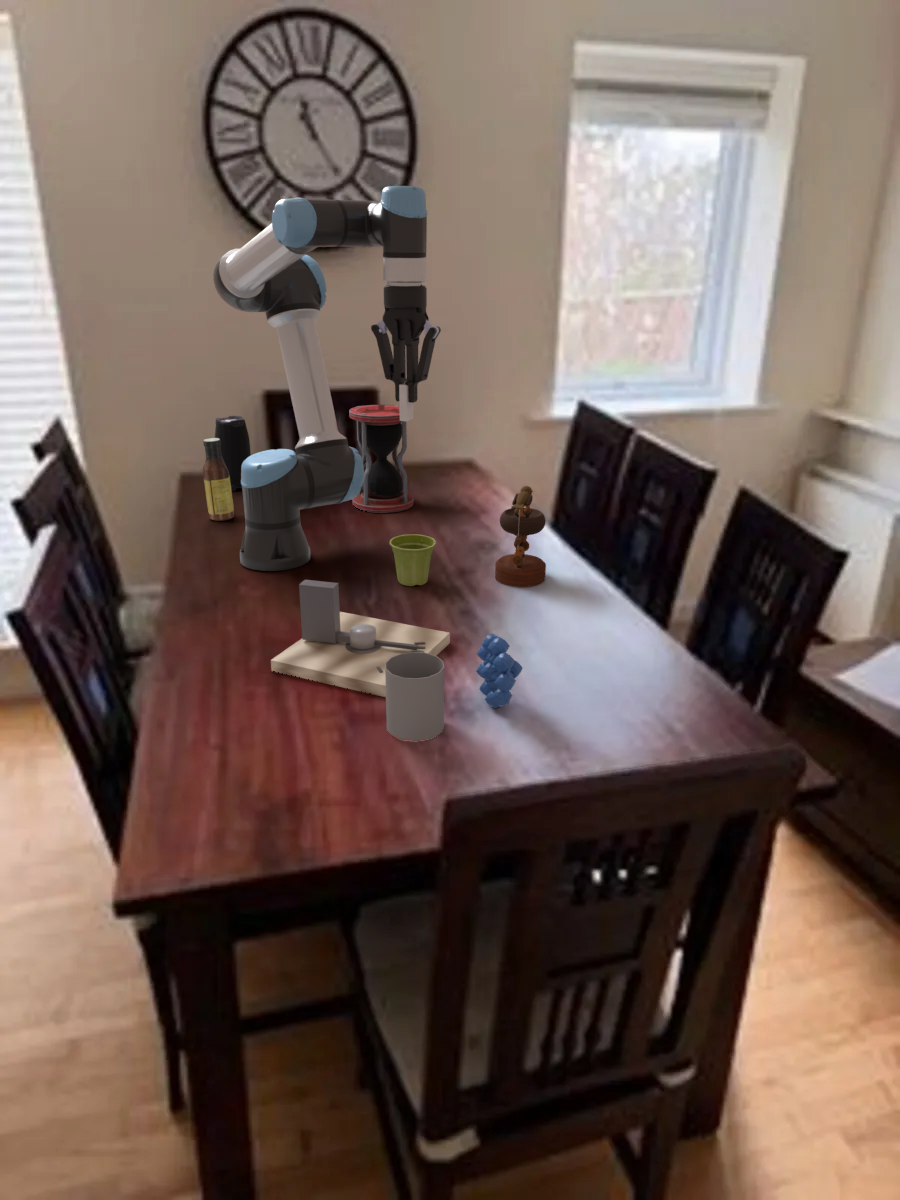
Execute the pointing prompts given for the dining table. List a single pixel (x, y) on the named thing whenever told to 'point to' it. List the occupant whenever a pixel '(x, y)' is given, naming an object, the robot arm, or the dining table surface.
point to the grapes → (497, 671)
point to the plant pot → (412, 558)
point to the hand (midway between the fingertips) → (406, 419)
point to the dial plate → (356, 655)
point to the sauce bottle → (217, 482)
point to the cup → (414, 696)
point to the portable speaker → (233, 446)
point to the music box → (521, 543)
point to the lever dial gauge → (334, 619)
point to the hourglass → (381, 459)
